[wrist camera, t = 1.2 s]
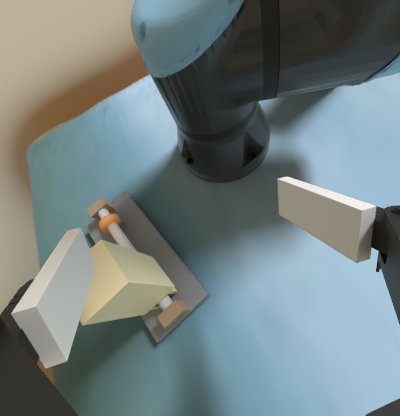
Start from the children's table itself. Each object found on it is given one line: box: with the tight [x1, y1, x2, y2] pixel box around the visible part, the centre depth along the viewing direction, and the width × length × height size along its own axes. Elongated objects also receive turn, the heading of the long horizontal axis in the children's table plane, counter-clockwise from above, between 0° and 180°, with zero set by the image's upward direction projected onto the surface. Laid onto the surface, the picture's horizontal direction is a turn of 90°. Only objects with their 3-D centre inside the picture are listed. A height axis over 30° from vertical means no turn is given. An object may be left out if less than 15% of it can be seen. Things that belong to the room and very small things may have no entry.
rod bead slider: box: [85, 192, 210, 343], centre depth 34 cm, size 22×9×5 cm, turn 41°
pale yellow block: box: [80, 239, 177, 325], centre depth 26 cm, size 5×5×14 cm
